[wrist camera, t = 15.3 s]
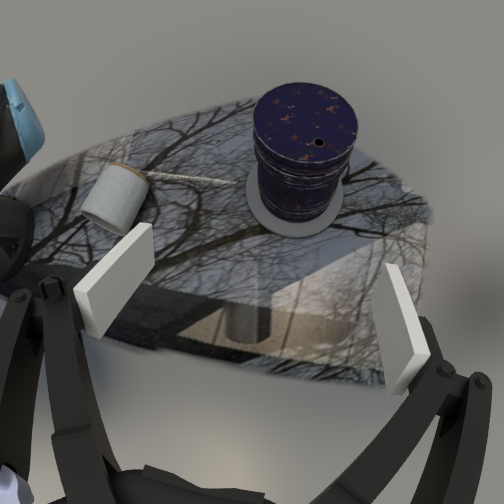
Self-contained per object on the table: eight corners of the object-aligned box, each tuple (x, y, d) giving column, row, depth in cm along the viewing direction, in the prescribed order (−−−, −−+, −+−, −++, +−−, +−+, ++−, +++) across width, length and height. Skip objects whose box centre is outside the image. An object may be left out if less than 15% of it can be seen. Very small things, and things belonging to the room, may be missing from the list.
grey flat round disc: (232, 172, 43) (230, 167, 41) (313, 142, 44) (314, 136, 42) (270, 254, 40) (270, 251, 38) (357, 216, 40) (360, 212, 39)
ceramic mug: (159, 190, 43) (139, 163, 35) (135, 242, 41) (109, 223, 34) (105, 175, 44) (82, 150, 37) (82, 221, 43) (54, 201, 35)
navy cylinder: (248, 168, 41) (237, 93, 27) (315, 149, 41) (331, 74, 27) (272, 234, 39) (272, 178, 24) (344, 211, 39) (378, 150, 24)
